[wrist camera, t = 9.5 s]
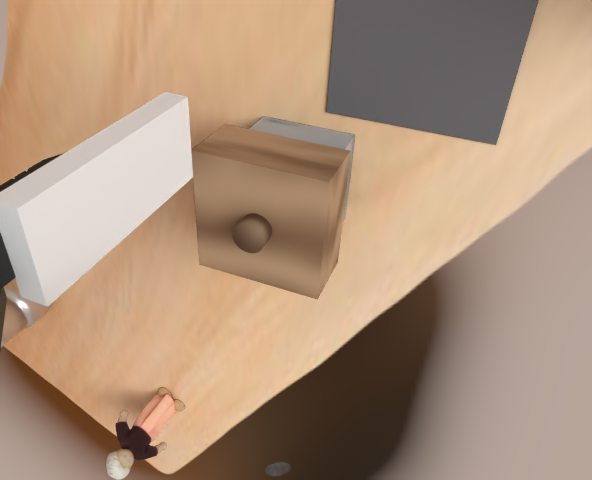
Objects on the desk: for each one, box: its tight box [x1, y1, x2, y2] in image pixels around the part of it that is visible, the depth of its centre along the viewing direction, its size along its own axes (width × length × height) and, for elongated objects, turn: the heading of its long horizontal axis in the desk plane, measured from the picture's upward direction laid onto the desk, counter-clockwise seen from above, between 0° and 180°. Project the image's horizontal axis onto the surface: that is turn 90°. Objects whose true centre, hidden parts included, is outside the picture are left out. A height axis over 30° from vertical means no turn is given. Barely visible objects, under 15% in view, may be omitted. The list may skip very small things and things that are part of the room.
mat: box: [326, 0, 538, 145], centre depth 36 cm, size 13×13×1 cm
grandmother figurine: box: [106, 387, 185, 480], centre depth 69 cm, size 8×4×13 cm, turn 59°
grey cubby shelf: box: [249, 116, 355, 223], centre depth 44 cm, size 8×8×5 cm
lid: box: [191, 124, 351, 299], centre depth 39 cm, size 10×10×6 cm
